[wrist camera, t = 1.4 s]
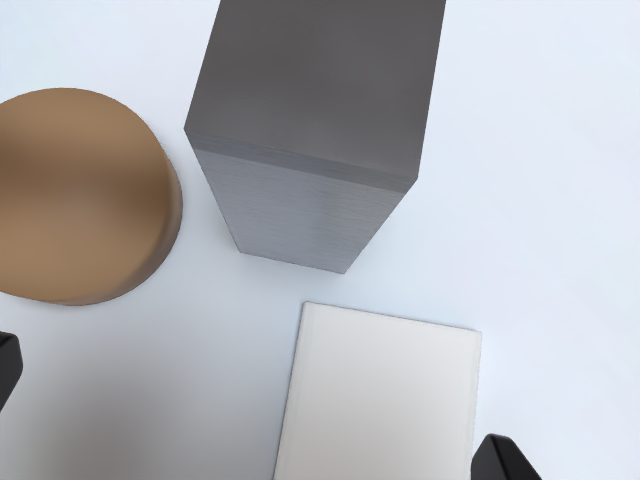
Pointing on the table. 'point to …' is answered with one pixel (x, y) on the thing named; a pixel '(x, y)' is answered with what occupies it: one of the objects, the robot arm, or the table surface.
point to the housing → (313, 120)
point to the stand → (81, 198)
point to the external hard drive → (379, 399)
